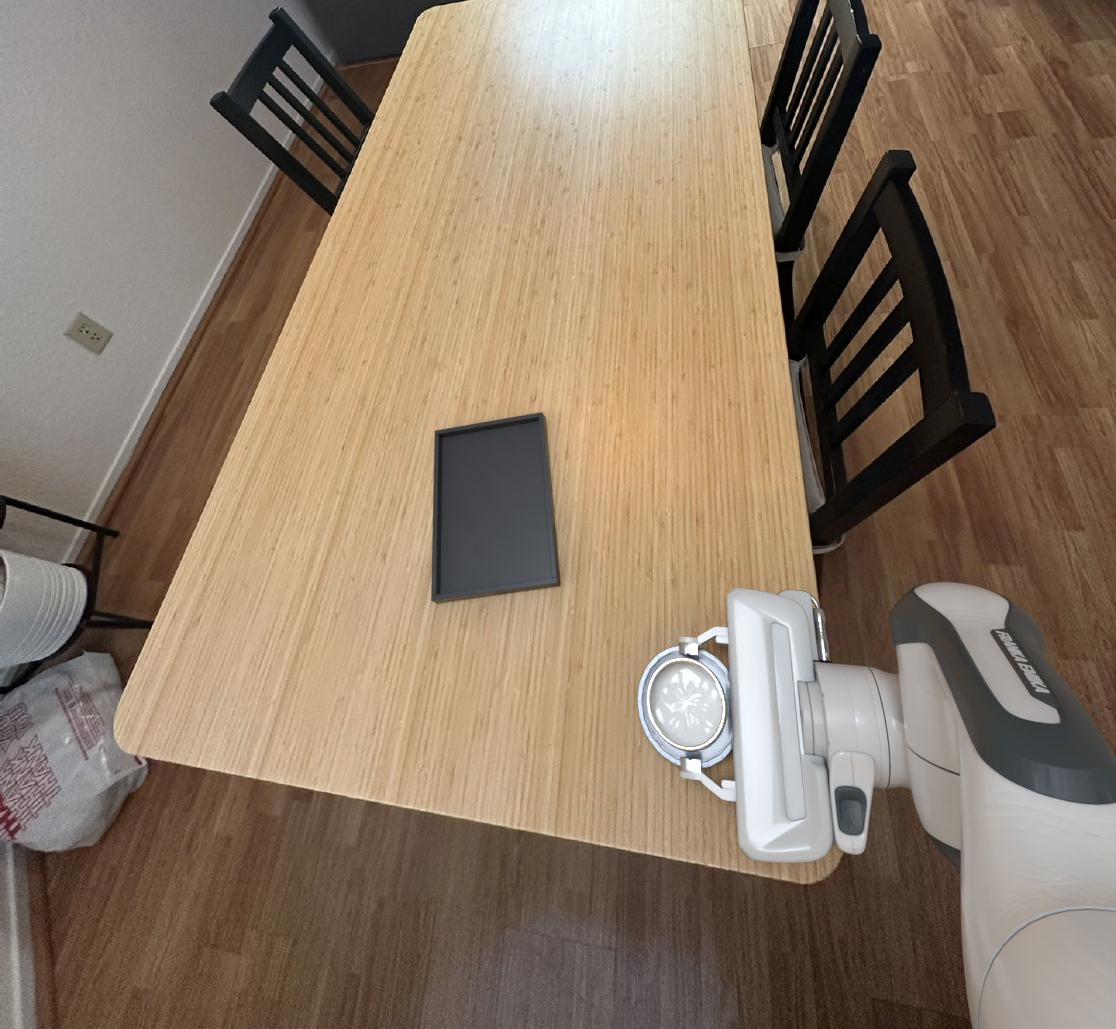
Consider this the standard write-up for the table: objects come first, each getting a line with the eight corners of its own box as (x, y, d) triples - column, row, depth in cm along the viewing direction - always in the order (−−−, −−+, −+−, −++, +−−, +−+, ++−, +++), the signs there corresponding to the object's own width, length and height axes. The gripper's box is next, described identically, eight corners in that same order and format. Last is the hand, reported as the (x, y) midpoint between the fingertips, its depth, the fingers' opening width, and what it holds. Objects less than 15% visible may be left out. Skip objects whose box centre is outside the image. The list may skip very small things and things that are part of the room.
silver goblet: (642, 689, 66) (628, 683, 54) (697, 651, 67) (695, 637, 55) (681, 762, 62) (674, 773, 50) (739, 721, 63) (746, 722, 51)
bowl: (752, 760, 61) (754, 762, 58) (650, 771, 62) (647, 774, 59) (726, 643, 67) (727, 639, 63) (634, 655, 68) (629, 651, 64)
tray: (560, 585, 73) (557, 583, 72) (436, 603, 75) (430, 600, 74) (545, 417, 86) (542, 411, 84) (439, 435, 87) (434, 430, 86)
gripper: (827, 586, 59) (676, 576, 62) (866, 882, 47) (679, 852, 50) (817, 596, 64) (679, 587, 67) (850, 866, 52) (682, 840, 55)
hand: (679, 703), depth 58 cm, fingers open, 8 cm apart
